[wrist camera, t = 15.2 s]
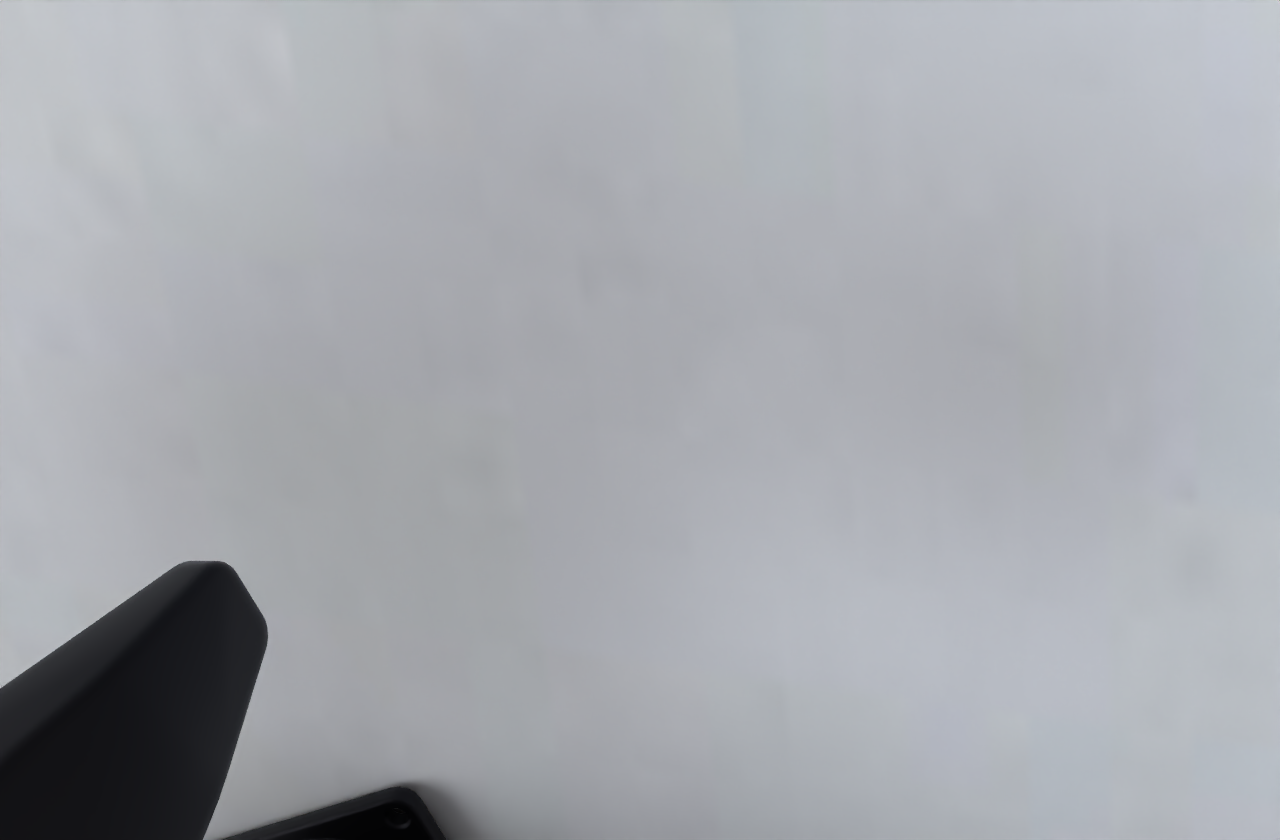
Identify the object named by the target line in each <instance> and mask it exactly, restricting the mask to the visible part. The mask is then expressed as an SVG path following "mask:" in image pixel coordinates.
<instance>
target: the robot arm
mask: <svg viewBox="0 0 1280 840" xmlns="http://www.w3.org/2000/svg"><path fill="white" fill-rule="evenodd" d="M267 639H268V631H267V625H266V621H265V619H264V617H263V615H262V613H261V612H260V610H259V608H258V607H257V605H256V604H255V602H254V600H253V599H252V597H251V595H250V594H249V592H248V591H247V589H246V587H245V586H244V584H243V583H242V581H241V579H240V578H239V576H238V574H237V573H236V571H235V570H234V569H233V568H232V567H231V566H230V565H228V564H227V563H225V562H220V561H188V562H183V563H181V564H178V565H177V566H175V567H173V568H172V569H171V570H169V571H168V572H166V573H165V574H163V575H162V576H161V577H159V578H158V579H156V580H155V581H153V582H152V583H151V584H149V585H148V586H146V587H145V588H143V589H142V590H141V591H139V592H138V593H136V594H135V595H133V596H132V597H131V598H129V599H128V600H126V601H125V602H123V603H122V604H121V605H119V606H118V607H116V608H115V609H113V610H112V611H111V612H109V613H108V614H106V615H105V616H103V617H102V618H101V619H99V620H98V621H96V622H95V623H93V624H92V625H91V626H89V627H88V628H86V629H85V630H83V631H82V632H81V633H79V634H78V635H76V636H75V637H73V638H72V639H71V640H69V641H68V642H66V643H65V644H63V645H62V646H61V647H59V648H58V649H56V650H55V651H53V652H52V653H50V654H49V655H48V656H46V657H45V658H43V659H42V660H40V661H39V662H38V663H36V664H35V665H33V666H32V667H30V668H29V669H28V670H26V671H25V672H23V673H22V674H20V675H19V676H18V677H16V678H15V679H13V680H12V681H10V682H9V683H8V684H6V685H5V686H3V687H2V688H0V840H203V838H204V835H205V833H206V831H207V828H208V826H209V823H210V821H211V818H212V816H213V813H214V810H215V808H216V805H217V803H218V800H219V797H220V794H221V791H222V788H223V785H224V782H225V779H226V776H227V773H228V770H229V767H230V764H231V760H232V757H233V754H234V751H235V747H236V744H237V741H238V738H239V735H240V731H241V728H242V725H243V722H244V718H245V715H246V712H247V709H248V705H249V702H250V699H251V696H252V692H253V689H254V686H255V683H256V679H257V676H258V673H259V670H260V666H261V663H262V660H263V657H264V654H265V650H266V646H267ZM394 808H398V809H400V810H403V811H404V812H405V813H398V812H395V811H394V810H393V809H394ZM223 840H446V838H445V837H444V835H443V833H442V832H441V830H440V828H439V827H438V825H437V824H436V822H435V820H434V819H433V817H432V815H431V814H430V812H429V811H428V809H427V807H426V806H425V804H424V802H423V801H422V799H421V798H420V797H419V796H418V795H417V794H416V793H415V792H414V791H412V790H410V789H408V788H403V787H394V788H389V789H386V790H382V791H379V792H376V793H373V794H369V795H366V796H363V797H360V798H356V799H353V800H350V801H346V802H343V803H340V804H337V805H333V806H330V807H327V808H324V809H320V810H317V811H314V812H311V813H307V814H304V815H301V816H298V817H294V818H291V819H288V820H285V821H281V822H278V823H275V824H272V825H268V826H265V827H262V828H258V829H255V830H252V831H249V832H245V833H242V834H239V835H236V836H232V837H229V838H226V839H223Z"/></svg>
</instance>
